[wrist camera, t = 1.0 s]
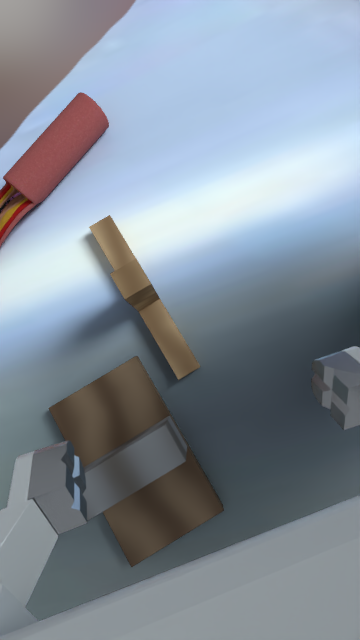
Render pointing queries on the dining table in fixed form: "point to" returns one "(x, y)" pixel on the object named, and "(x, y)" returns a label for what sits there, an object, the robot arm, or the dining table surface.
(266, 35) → the dining table surface
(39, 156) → the artery
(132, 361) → the stand
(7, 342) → the dining table surface
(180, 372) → the oak bar
